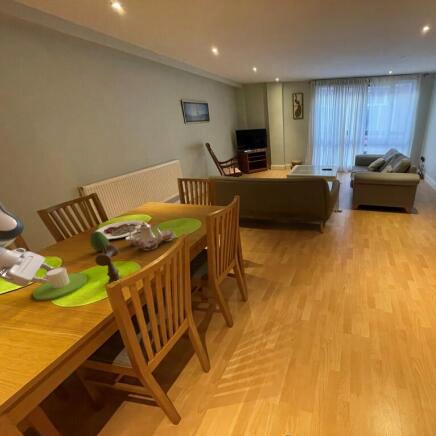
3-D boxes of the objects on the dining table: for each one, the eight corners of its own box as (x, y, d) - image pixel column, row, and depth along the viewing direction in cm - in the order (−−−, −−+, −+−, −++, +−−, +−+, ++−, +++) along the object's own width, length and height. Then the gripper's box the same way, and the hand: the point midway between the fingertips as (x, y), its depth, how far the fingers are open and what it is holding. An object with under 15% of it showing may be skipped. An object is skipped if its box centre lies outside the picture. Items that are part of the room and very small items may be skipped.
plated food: (147, 234, 157) (146, 229, 155) (90, 245, 143) (88, 240, 142) (147, 219, 181) (146, 215, 180) (98, 228, 167) (96, 223, 166)
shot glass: (74, 282, 109) (69, 269, 106) (55, 291, 103) (49, 277, 100) (66, 278, 111) (60, 265, 109) (47, 286, 106) (41, 273, 103)
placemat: (35, 306, 96) (34, 304, 95) (31, 287, 107) (30, 286, 106) (91, 284, 108) (90, 283, 108) (82, 270, 119) (81, 268, 119)
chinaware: (177, 237, 156) (172, 213, 151) (176, 246, 141) (170, 219, 136) (127, 245, 146) (120, 219, 141) (120, 256, 131) (112, 227, 126)
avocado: (97, 248, 140) (90, 229, 135) (112, 246, 142) (107, 228, 137) (91, 255, 133) (84, 235, 128) (108, 252, 135) (101, 233, 130)
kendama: (126, 274, 116) (114, 237, 108) (119, 286, 107) (106, 246, 100) (112, 276, 114) (99, 238, 107) (103, 288, 106) (89, 249, 98)
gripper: (2, 268, 87) (48, 282, 96) (22, 246, 104) (60, 259, 112) (-11, 282, 87) (37, 295, 95) (12, 257, 103) (51, 270, 111)
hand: (50, 275), depth 104 cm, fingers open, 8 cm apart
